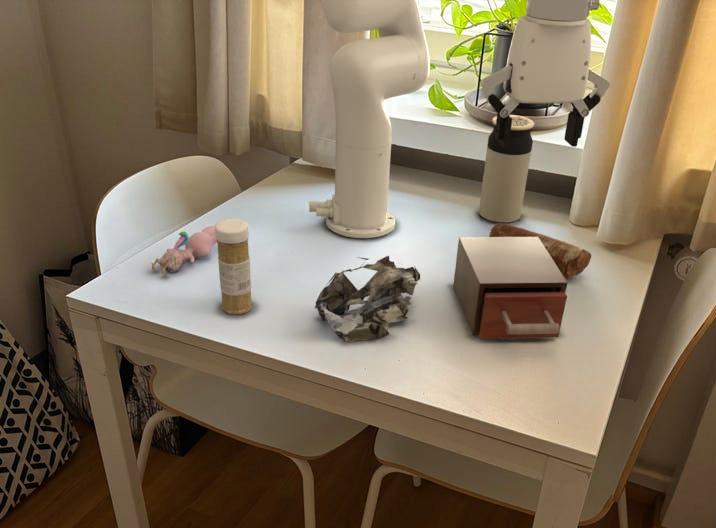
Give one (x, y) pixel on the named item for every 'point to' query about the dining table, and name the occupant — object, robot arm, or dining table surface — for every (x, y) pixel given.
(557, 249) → the bread
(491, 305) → the drawer
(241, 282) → the sprinkles bottle
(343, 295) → the foil
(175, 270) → the rabbit figure
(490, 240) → the wooden drawer cabinet
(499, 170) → the travel mug
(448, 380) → the dining table surface
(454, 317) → the dining table surface
